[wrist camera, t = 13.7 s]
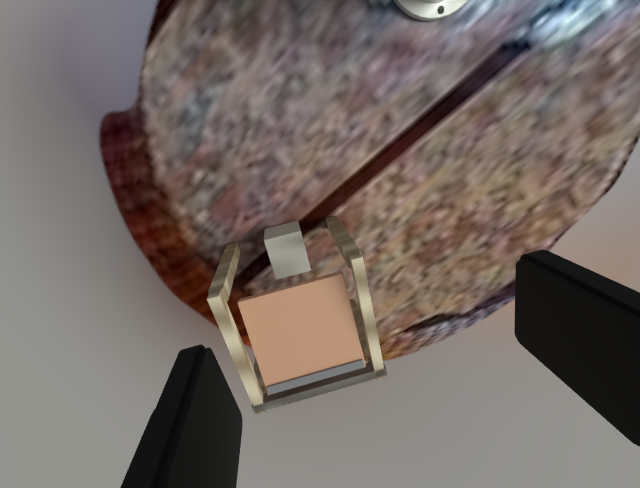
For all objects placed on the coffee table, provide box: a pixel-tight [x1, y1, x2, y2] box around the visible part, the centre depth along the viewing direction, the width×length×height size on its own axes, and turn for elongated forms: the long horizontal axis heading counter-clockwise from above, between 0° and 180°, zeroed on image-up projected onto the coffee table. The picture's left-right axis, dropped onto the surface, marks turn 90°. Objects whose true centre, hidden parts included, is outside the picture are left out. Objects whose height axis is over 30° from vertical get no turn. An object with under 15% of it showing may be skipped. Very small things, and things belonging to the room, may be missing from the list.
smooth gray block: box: [264, 220, 311, 279], centre depth 44 cm, size 5×5×6 cm
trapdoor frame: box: [207, 216, 387, 414], centre depth 41 cm, size 17×17×16 cm
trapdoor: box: [238, 271, 366, 395], centre depth 36 cm, size 12×12×1 cm
